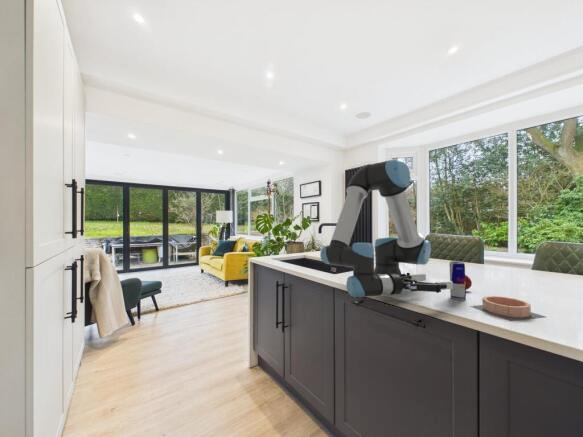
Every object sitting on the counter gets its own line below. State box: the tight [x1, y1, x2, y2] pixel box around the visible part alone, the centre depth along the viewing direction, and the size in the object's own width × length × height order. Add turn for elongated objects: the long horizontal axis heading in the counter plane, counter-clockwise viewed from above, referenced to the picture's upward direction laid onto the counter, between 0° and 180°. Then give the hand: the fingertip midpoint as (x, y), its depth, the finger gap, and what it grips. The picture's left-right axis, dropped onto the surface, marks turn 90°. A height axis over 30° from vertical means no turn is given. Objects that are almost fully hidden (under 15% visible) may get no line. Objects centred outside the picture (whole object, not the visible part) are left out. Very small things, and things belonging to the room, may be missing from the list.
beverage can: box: [448, 260, 467, 301], centre depth 100 cm, size 5×5×15 cm
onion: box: [465, 274, 473, 290], centre depth 112 cm, size 6×6×8 cm
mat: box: [469, 304, 547, 322], centre depth 84 cm, size 14×14×1 cm
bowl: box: [482, 295, 532, 318], centre depth 84 cm, size 12×12×3 cm
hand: (437, 280), depth 98 cm, fingers open, 13 cm apart
